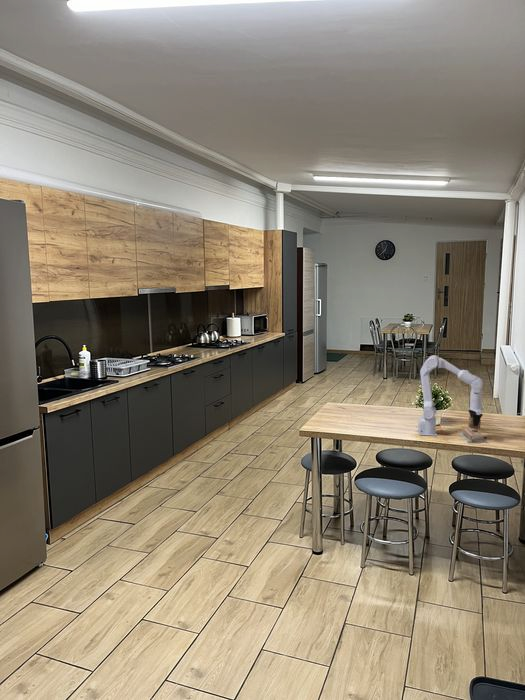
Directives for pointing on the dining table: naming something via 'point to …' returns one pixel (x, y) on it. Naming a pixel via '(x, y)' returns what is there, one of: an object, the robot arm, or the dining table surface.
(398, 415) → the dining table surface
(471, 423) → the walnut cube
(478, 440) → the packaged product
